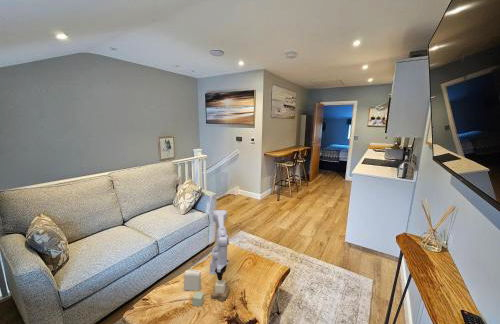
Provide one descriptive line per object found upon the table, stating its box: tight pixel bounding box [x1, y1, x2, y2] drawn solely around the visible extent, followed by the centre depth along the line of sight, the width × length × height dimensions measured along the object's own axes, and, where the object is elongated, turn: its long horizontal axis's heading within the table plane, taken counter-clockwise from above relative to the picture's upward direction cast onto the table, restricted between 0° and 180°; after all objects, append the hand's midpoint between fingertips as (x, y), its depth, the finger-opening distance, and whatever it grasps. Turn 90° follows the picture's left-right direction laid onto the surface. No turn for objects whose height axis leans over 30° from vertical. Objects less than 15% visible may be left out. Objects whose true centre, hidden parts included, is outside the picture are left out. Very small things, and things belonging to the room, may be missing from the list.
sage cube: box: [191, 291, 205, 307], centre depth 116 cm, size 5×5×5 cm
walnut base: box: [210, 285, 231, 302], centre depth 123 cm, size 9×9×3 cm
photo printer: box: [183, 269, 202, 292], centre depth 127 cm, size 10×4×12 cm, turn 90°
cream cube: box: [214, 279, 227, 294], centre depth 122 cm, size 5×5×5 cm
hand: (221, 275), depth 127 cm, fingers open, 7 cm apart
